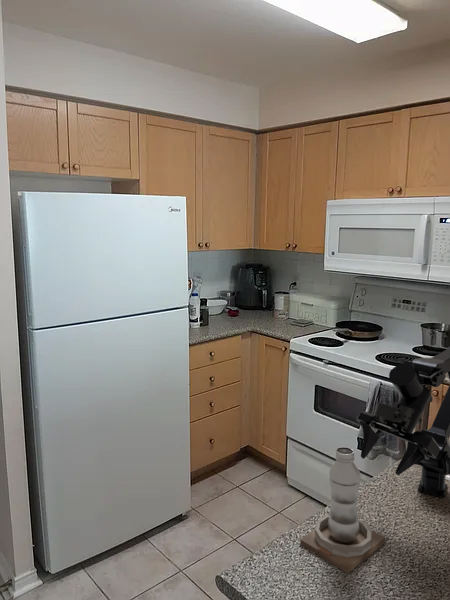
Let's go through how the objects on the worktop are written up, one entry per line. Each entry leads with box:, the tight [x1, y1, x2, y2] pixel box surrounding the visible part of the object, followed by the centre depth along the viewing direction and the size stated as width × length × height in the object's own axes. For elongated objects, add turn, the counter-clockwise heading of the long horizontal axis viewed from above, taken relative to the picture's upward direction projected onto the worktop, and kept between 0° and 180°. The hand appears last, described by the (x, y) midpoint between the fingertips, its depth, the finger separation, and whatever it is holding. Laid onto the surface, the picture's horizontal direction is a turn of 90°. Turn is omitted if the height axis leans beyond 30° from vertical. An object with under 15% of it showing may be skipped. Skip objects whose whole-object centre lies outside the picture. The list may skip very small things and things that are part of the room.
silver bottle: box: [328, 446, 362, 543], centre depth 102 cm, size 6×7×20 cm
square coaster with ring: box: [299, 514, 386, 574], centre depth 103 cm, size 14×12×3 cm
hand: (378, 465), depth 107 cm, fingers open, 9 cm apart
